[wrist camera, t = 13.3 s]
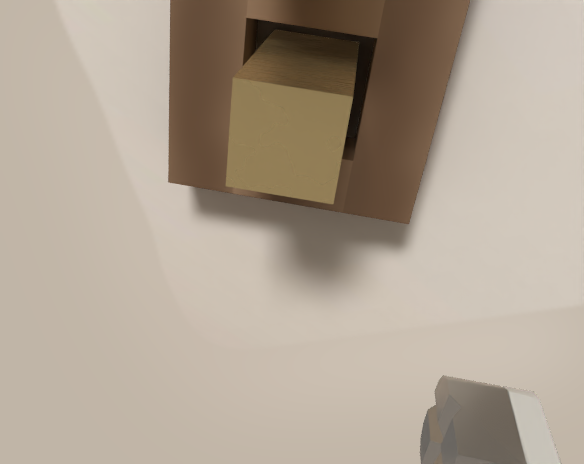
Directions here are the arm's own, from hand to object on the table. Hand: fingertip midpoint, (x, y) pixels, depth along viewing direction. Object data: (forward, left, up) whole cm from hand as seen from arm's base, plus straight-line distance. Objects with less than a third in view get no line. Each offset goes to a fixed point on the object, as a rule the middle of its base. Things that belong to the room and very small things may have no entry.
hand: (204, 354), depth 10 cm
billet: (0, 0, -20) cm, 20 cm away
